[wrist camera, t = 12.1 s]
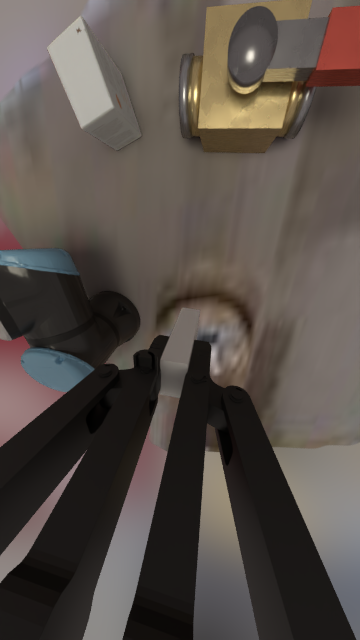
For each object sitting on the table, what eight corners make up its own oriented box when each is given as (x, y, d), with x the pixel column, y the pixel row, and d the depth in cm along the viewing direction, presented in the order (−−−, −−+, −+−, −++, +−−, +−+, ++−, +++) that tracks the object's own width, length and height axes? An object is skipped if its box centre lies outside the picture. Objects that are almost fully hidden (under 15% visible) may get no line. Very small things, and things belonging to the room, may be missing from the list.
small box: (95, 94, 31) (43, 44, 22) (122, 73, 29) (79, 10, 20) (117, 152, 34) (80, 130, 25) (143, 137, 33) (113, 107, 24)
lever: (223, 95, 21) (224, 80, 19) (231, 30, 19) (232, 5, 16) (393, 92, 19) (416, 75, 16) (424, 18, 16) (456, -13, 14)
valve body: (192, 151, 32) (180, 124, 23) (197, 72, 28) (185, -3, 18) (277, 153, 30) (303, 123, 21) (297, 68, 26) (342, -19, 16)
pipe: (186, 145, 32) (177, 126, 25) (190, 77, 28) (180, 34, 21) (286, 146, 29) (305, 126, 23) (305, 72, 26) (334, 23, 19)
